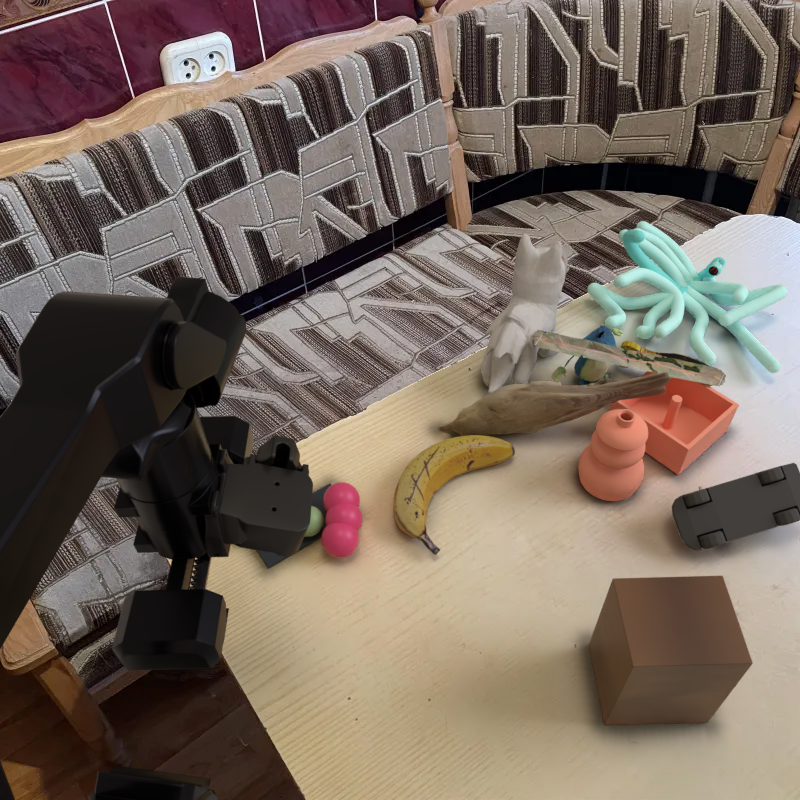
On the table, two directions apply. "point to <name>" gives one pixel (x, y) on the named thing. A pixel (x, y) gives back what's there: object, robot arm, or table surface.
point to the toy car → (738, 507)
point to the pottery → (652, 436)
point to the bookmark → (629, 358)
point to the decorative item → (659, 353)
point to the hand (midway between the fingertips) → (216, 590)
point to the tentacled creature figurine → (684, 295)
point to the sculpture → (547, 404)
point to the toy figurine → (590, 367)
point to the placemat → (274, 559)
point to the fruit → (441, 477)
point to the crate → (667, 650)
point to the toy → (525, 314)
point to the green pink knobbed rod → (338, 520)
